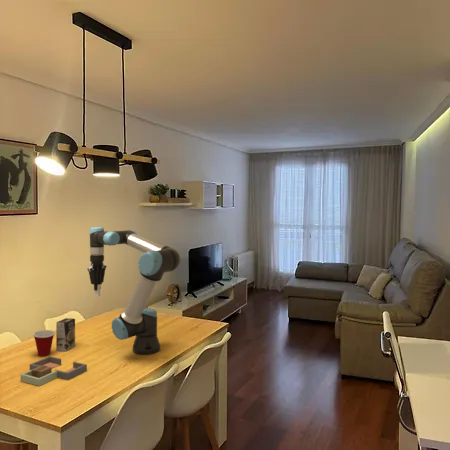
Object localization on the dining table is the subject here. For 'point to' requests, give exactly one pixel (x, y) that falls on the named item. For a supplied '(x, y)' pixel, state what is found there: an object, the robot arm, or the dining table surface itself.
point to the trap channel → (53, 363)
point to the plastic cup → (44, 341)
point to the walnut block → (41, 371)
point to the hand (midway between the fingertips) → (97, 295)
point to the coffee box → (65, 334)
